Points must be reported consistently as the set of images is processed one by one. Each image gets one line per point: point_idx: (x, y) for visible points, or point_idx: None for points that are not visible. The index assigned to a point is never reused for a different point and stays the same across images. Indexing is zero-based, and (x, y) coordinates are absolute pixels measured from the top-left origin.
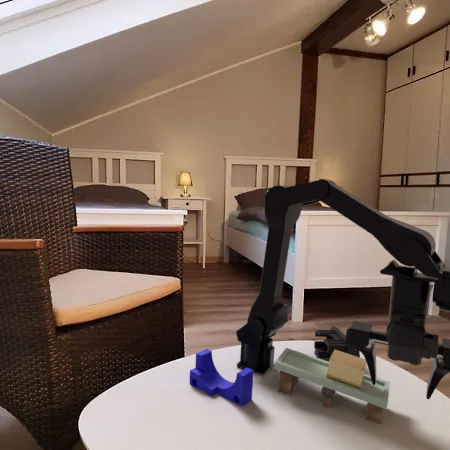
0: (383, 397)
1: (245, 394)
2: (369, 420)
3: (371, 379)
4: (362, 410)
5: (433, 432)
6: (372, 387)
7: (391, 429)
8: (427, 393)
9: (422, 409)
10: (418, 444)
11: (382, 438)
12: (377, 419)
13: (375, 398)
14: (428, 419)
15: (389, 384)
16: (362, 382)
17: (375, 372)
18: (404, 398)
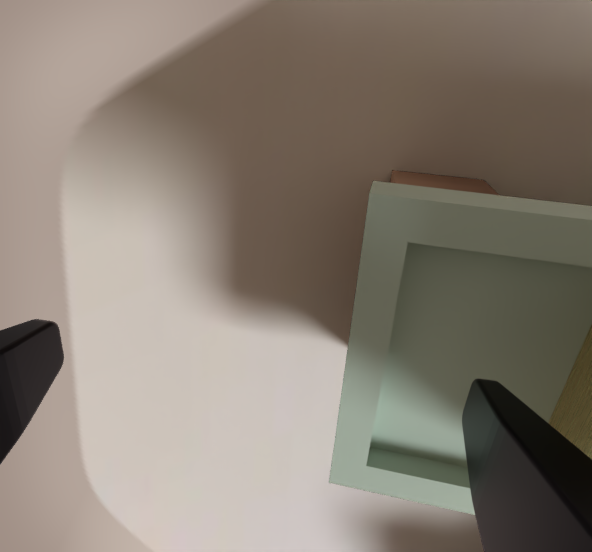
0: (404, 248)
1: None
2: (459, 179)
3: (531, 411)
4: None
5: (114, 221)
6: (468, 392)
7: (330, 144)
8: (15, 340)
9: (170, 393)
10: (182, 58)
11: (395, 6)
12: (416, 177)
13: (484, 203)
14: (142, 324)
15: (333, 455)
16: (566, 410)
17: (521, 485)
18: (250, 451)
